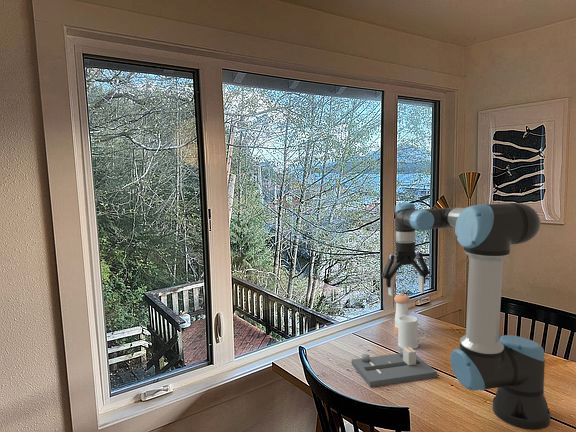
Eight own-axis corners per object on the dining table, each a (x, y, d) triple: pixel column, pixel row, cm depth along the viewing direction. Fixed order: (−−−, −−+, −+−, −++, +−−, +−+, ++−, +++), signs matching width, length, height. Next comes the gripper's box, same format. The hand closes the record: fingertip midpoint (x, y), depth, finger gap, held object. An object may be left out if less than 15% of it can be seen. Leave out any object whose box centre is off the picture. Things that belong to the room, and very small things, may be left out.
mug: (428, 345, 173) (428, 318, 172) (422, 352, 166) (421, 324, 165) (402, 339, 180) (401, 314, 179) (394, 346, 173) (394, 319, 172)
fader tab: (415, 364, 151) (415, 351, 150) (408, 365, 150) (408, 352, 150) (410, 359, 155) (409, 346, 155) (402, 360, 154) (402, 347, 154)
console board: (437, 377, 145) (436, 366, 145) (370, 387, 140) (370, 376, 140) (411, 356, 163) (411, 346, 163) (351, 364, 158) (351, 354, 157)
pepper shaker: (400, 329, 192) (399, 290, 190) (413, 333, 186) (413, 293, 185) (391, 333, 187) (390, 293, 186) (404, 337, 182) (404, 296, 180)
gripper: (428, 238, 166) (428, 288, 168) (372, 242, 161) (373, 293, 163) (438, 240, 159) (439, 292, 161) (380, 245, 154) (381, 298, 156)
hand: (406, 293), depth 162 cm, fingers open, 13 cm apart
